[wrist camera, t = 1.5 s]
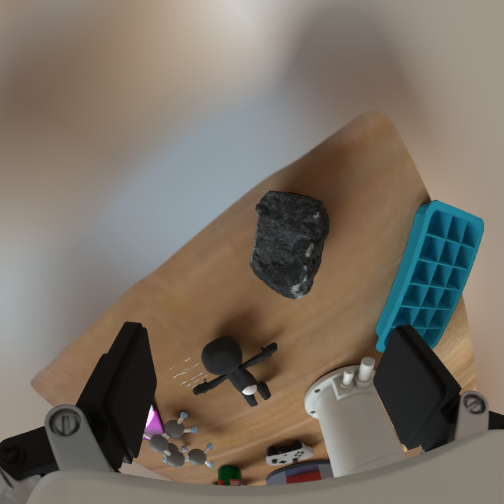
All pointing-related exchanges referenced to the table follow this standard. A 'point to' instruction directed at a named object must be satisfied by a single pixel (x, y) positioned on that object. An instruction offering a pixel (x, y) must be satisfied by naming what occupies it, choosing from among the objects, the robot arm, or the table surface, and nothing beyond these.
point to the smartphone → (153, 423)
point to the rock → (289, 242)
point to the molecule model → (171, 450)
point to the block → (304, 477)
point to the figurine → (233, 368)
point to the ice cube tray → (431, 272)
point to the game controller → (288, 454)
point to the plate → (300, 471)
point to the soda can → (229, 476)
